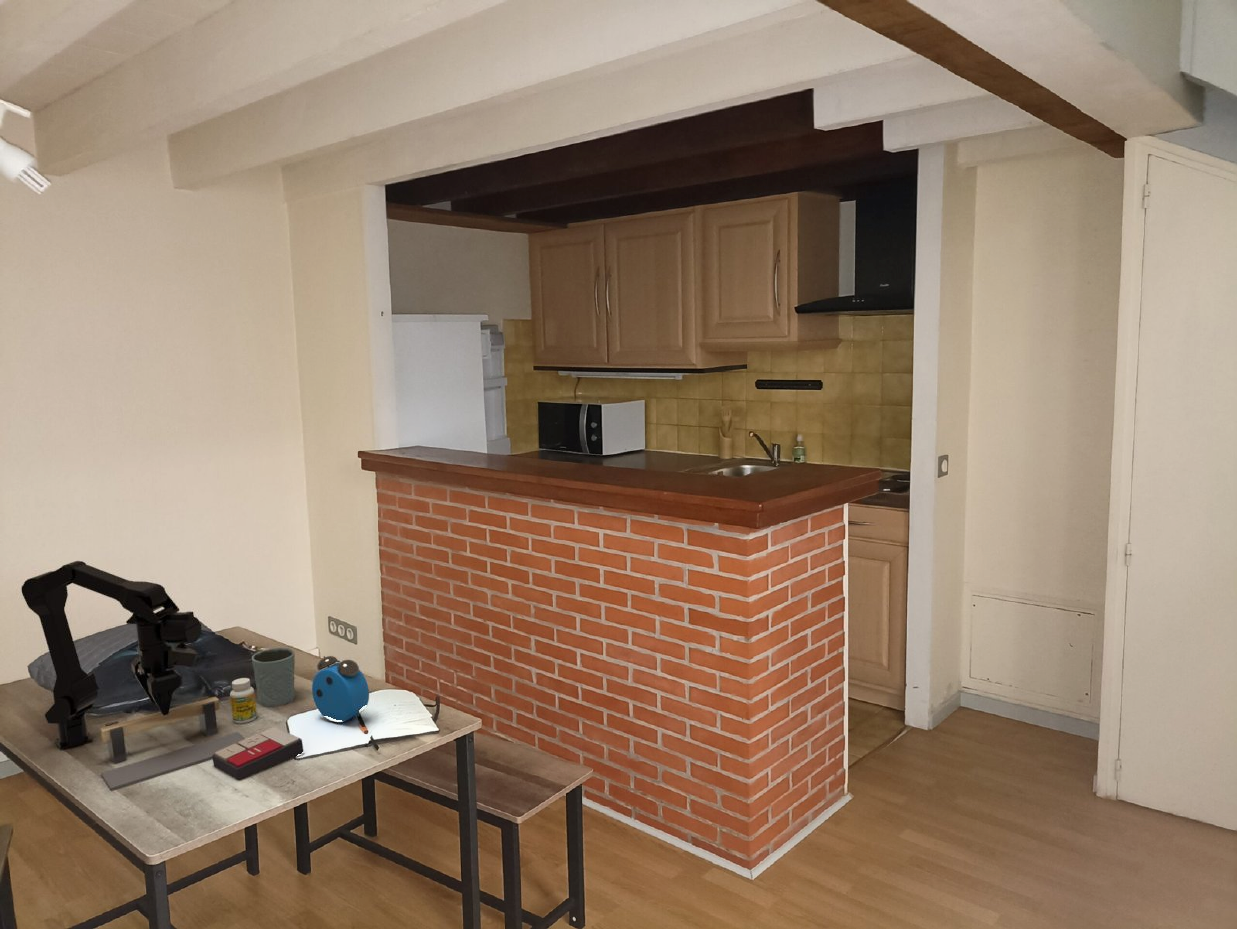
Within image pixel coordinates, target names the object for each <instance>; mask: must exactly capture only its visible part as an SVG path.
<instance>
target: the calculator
mask: <svg viewBox="0 0 1237 929" xmlns="http://www.w3.org/2000/svg"><path fill="white" fill-rule="evenodd" d="M303 751H304V745H303V740H302V738H300V737H298V736H295V735H294V734H291V733H289V732H288V731H285V730H284V729H283V730H282V729H281V728H279V727H276V726H274V727H271V728H269V729H266V730H265V731H263V732H261V733H256V734H253V735H252V736H251V735H250V736H249V737H247V738H245V739H244V740H242V741H240V742H238V744H233V745H230V746H228V747H226V748H224V749H221V750H219V751H217V752H215V754H214V755H212V758H213V759H212V764H213V767H214V768H215V769H217V770H219V771H221V772H222V773H224V774H226V775H228V776H229V777H231V778H233V779H235V780H237V781H242V780H244V779H246V778H249V777H252V776H255V775H256V774H259V773H262V772H263V771H266V770H268V769H270V768H273V767H275V766H277V765H278V764H281V763H283V762H288V761H290V760H292V759H295V758H297V757H298V756H297V755H298V754H301V753H302V752H303ZM296 756H297V757H296Z"/></svg>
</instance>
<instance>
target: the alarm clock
mask: <svg viewBox="0 0 1237 929" xmlns="http://www.w3.org/2000/svg"><path fill="white" fill-rule="evenodd" d="M316 667H317V671H318V672H317V673H316V674H315V675H314V678H313V680H312V684H311V685H312V686H311V691H312V692H311V693H312V698H313V702H314V704H315V706H316V708H317V710H318V712H320V714H321V715H322V717H324V716H328V717H331V718H333V719H336V720H342V721H344V722H346V721H348V720H350V719H351V718H354V717H356V716H357V715H358V714H359V710H360V709H361V708H362V707H363V706H365V705H367V706H368V703H369V701H370V689H369V685H368V682H367V680H366V677H365V676H364V674H363V672H362V671H361V670H360V667H359V665H358V663H357V662H356V661H355V660H352V659H343V660H342V661H340V660H338V658H337V657H336V656H334V655H327V656H325V655H324V656H323V658H321V659H320V660H319V661H318V663H317V665H316Z"/></svg>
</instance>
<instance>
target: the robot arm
mask: <svg viewBox="0 0 1237 929" xmlns="http://www.w3.org/2000/svg"><path fill="white" fill-rule="evenodd" d="M71 584H73V585H76V586H79V587H81V588H84V589H87V590H89V591H92V592H95V593H97V594H100V595H102V596H104V597H108V598H111V599H113V600H114V601H117V602H119V604H120V605H121V607H122V608H123V609H125V610H126V611H128V612H130V613H131V616H130V617H128V619H127V620H126V621H125V622H126V623H125V624H127V625H135V626H136V628H135V629H136V636H137V637H136V638H137V644H138V646H136V651H137V653H138V655H139V657H135V658H134V659H133V660H132V661H131V663H130V666H131V672H132V673H133V675H134V676H135V678H136V680H137V682H138V683H139V684H140V686H141V688H142V690H144V693H145V695H146V696H147V697H148V699H149V700H150V702H151V703H152V704H156V706H157V707H158V709H159V712H161V713H162V714H163V715H168V714H169V709H171V703H172V699H173V698H172V697H173V694H174V692H175V691H176V690H177V689H179V688H180V687H181V686H182V685H184V684H183V676H182V675H181V674H180V673H179V672H178V671H176V670H174V669H175V666H182V667H185V666H186V667H188V668H194V667H195V663H196V661H197V655H198V652H197V651H195V650H194V649H192V648H190V647H187V644H195V643H197V641H198V640H199V639H200V637H201V634H202V624H201V622H200V620H199V619H198V618H197V617H196V616H195V615H194V611H184V612H180V607H179V606H178V605H177V604H176V603H175V601H174V600H173V599H172V598H171V597H170V596H169V594H168V593H167V591H166V589H165V587H164V586H163V585H161V584H158V583H155V582H149V581H138V580H137V581H135V580H134V581H133V580H129V579H125V578H123V577H121V576H118V575H115V574H114V573H113V574H112V573H110V572H108V571H105V570H102V569H99V568H96V567H95V566H91V565H89V564H87V563H86V562H84V561H80V560H75V561H72V562H69V563H65V564H63V565H62V566H60V568H57V569H55V570H53V571H52V570H51V571H48V572H47V571H46V572H44V573H42V574H39V575H36V576H33V577H31V578H28V579H27V580H25V581H24V583H23V584H22V585H21V594H22V597H23V599H24V601H25V604H26V605H27V607H28V608H29V609H30V610H31V611H32V612H34V614H36V615H37V616H38V618H39V621H40V624H41V627H42V631H43V634H44V638H45V641H46V644H47V648H48V652H49V655H50V659H51V661H52V666H53V670H54V671H55V674H56V675H55V676H56V678H55V682H54V686H53V690H52V694H53V704H52V706H51V707H50V708H49V709H48V710H47V711H46V712H45V714H44V717H45V720H46V721H47V724H55V725H56V727H57V734H58V738H55V743H56V745H57V746H58V748H59V750H65V749H68V748H73V747H77V746H78V745H79V746H80V745H83V744H86V743H89V742H93V737H92V735H91V734H90V732H89V731H88V724H87V716H86V712H88V711H90V710H92V709H93V707H94V704H95V701H96V700H97V698H98V696H99V695H98V694H99V692H98V691H99V690H100V688H99V685H98V684H97V680H96V675H95V673H93V672H92V673H90V674H88V673H87V672H86V671H85V670H83V668H82V667H81V666H82V665H81V663H80V659H79V656H78V652H77V649H76V645H75V642H74V638H73V636H72V632H71V629H70V623H69V621H68V618H67V614H66V610H65V609H66V608H65V607H66V604H67V599H68V596H69V594H68V586H69V585H71ZM159 609H160V610H159ZM157 610H158V611H157ZM155 611H156V612H155ZM170 644H174V645H172V646H171V645H170Z"/></svg>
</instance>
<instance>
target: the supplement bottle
mask: <svg viewBox="0 0 1237 929" xmlns="http://www.w3.org/2000/svg"><path fill="white" fill-rule="evenodd" d="M231 688H232V690H231V691H230V693H229V696H230V706H231V715H232V716H231V717H232V722H234V723H236V724H245V723H250V722H253V721H254V720H255V719H256V718H257V717H258V715H257V714H258V712H257V705H256V704H257V703H256V697H255V696H256V695H255V689H254V687H252V686H251V680H250V678H248V677H241V678H237V679H234V680H232V682H231Z"/></svg>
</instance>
